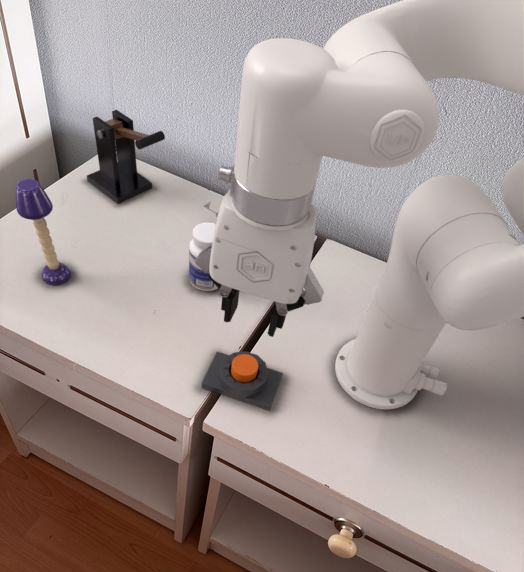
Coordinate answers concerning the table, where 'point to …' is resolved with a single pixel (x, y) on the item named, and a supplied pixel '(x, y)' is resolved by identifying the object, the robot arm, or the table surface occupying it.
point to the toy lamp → (40, 227)
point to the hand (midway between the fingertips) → (252, 320)
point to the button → (244, 368)
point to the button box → (252, 392)
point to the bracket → (116, 176)
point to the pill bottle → (199, 243)
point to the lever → (135, 135)
